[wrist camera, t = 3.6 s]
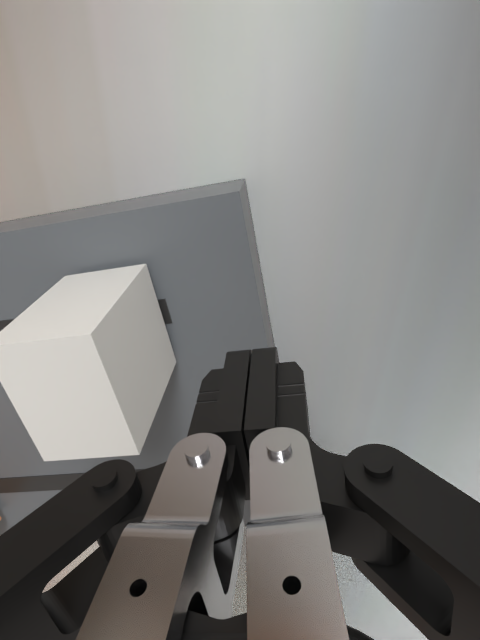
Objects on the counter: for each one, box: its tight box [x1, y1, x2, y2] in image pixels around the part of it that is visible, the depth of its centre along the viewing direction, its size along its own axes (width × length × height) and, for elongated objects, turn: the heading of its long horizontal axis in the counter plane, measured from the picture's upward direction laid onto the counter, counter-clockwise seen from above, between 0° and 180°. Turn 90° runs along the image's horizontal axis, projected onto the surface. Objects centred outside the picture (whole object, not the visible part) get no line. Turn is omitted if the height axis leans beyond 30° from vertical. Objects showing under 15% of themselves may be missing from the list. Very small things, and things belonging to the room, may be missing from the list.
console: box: [0, 179, 275, 535], centre depth 24 cm, size 28×19×3 cm
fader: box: [0, 264, 176, 461], centre depth 16 cm, size 4×5×6 cm
